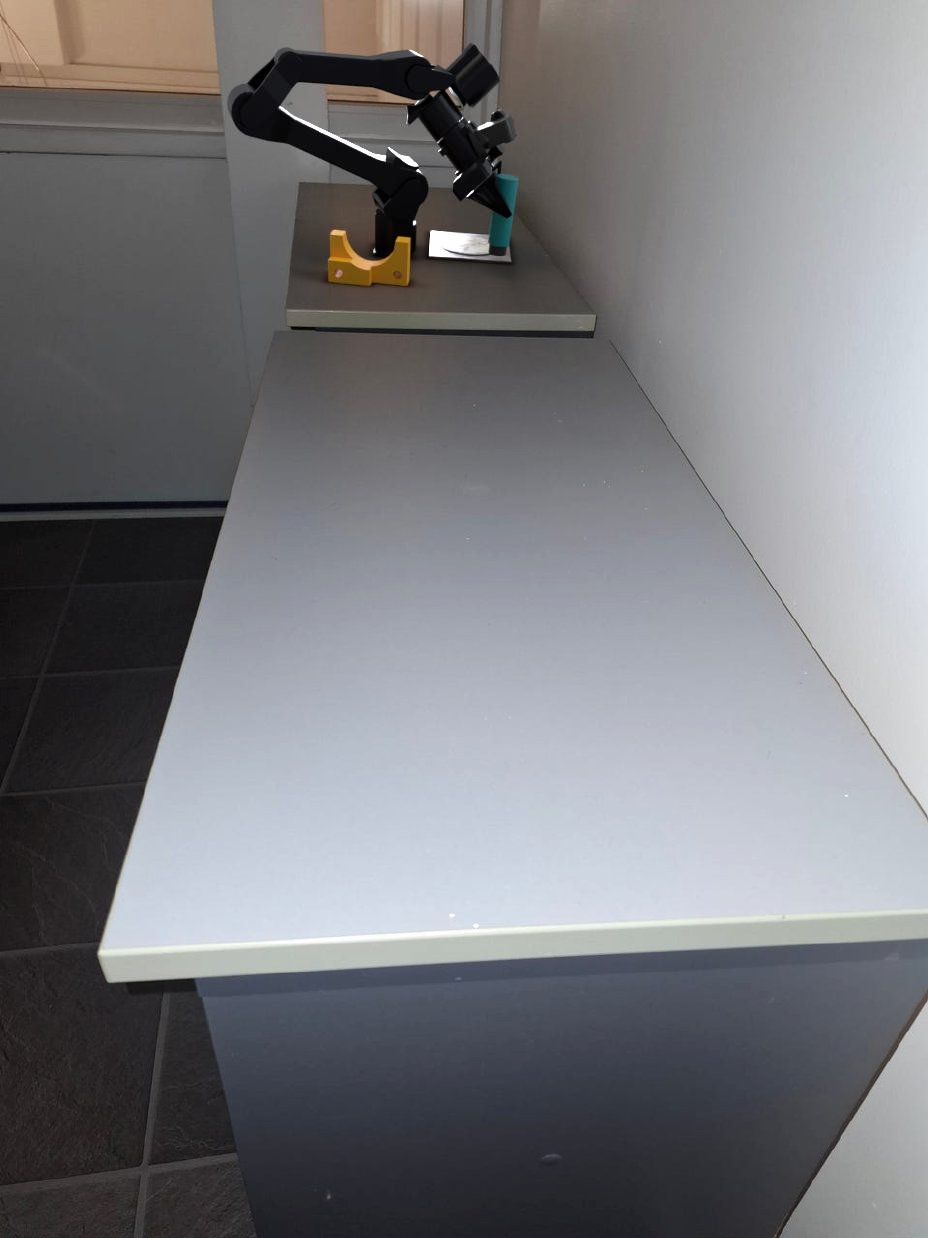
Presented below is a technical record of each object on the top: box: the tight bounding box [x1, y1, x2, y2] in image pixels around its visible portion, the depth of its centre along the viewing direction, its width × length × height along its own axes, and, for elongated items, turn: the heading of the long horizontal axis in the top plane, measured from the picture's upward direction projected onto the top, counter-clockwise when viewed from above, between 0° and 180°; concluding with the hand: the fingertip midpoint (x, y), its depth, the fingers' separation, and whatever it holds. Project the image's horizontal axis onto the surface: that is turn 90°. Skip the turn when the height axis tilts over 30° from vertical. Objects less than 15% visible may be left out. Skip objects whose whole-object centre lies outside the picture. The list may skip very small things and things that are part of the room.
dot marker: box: [488, 173, 520, 256], centre depth 142 cm, size 4×4×12 cm
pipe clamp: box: [327, 229, 411, 287], centre depth 132 cm, size 12×4×6 cm, turn 84°
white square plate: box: [428, 230, 512, 265], centre depth 150 cm, size 14×14×1 cm
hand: (511, 213), depth 141 cm, fingers closed on dot marker, 3 cm apart
